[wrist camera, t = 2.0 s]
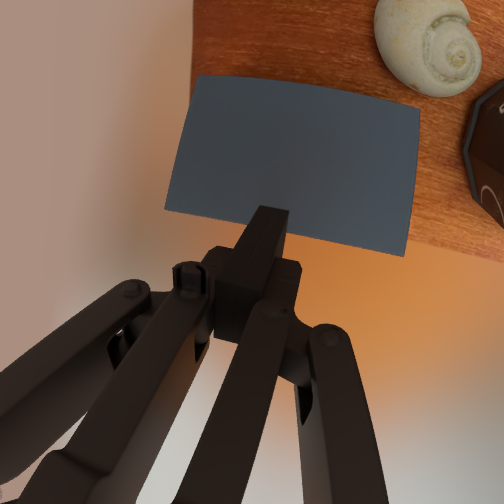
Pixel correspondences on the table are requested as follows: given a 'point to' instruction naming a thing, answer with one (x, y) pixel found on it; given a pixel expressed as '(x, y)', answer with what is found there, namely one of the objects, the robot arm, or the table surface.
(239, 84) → the lid
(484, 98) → the octagonal dark pot
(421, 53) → the seashell
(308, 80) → the table surface
